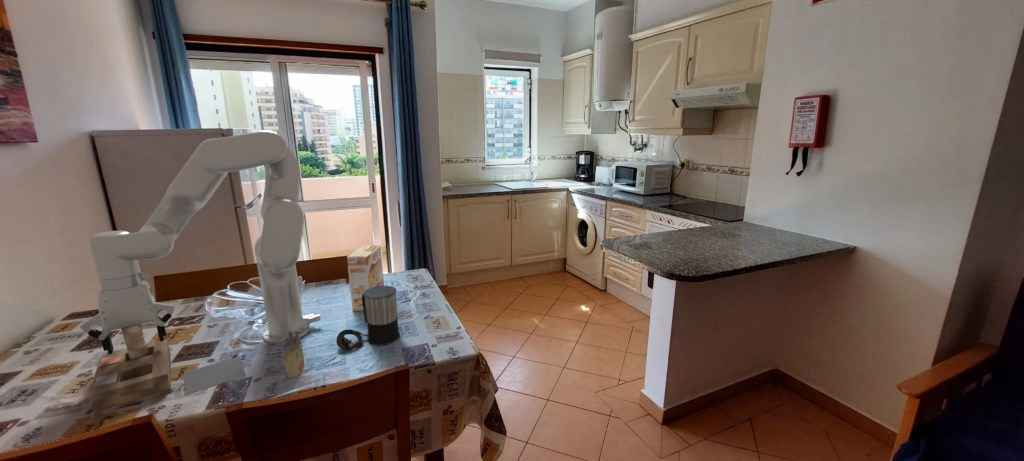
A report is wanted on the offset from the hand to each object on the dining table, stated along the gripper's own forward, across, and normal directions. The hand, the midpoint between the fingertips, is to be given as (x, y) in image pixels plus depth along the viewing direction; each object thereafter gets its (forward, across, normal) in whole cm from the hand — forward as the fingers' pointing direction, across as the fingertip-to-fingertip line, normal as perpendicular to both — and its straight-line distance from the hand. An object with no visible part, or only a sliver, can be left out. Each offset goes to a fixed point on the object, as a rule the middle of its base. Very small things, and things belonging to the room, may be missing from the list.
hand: (137, 345), depth 103 cm
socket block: (+7, +1, +6) cm, 9 cm away
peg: (+6, 0, 0) cm, 6 cm away
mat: (+7, -14, +14) cm, 21 cm away
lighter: (+7, -30, +26) cm, 40 cm away
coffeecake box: (+8, -61, -6) cm, 62 cm away
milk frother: (+8, -50, +23) cm, 56 cm away
